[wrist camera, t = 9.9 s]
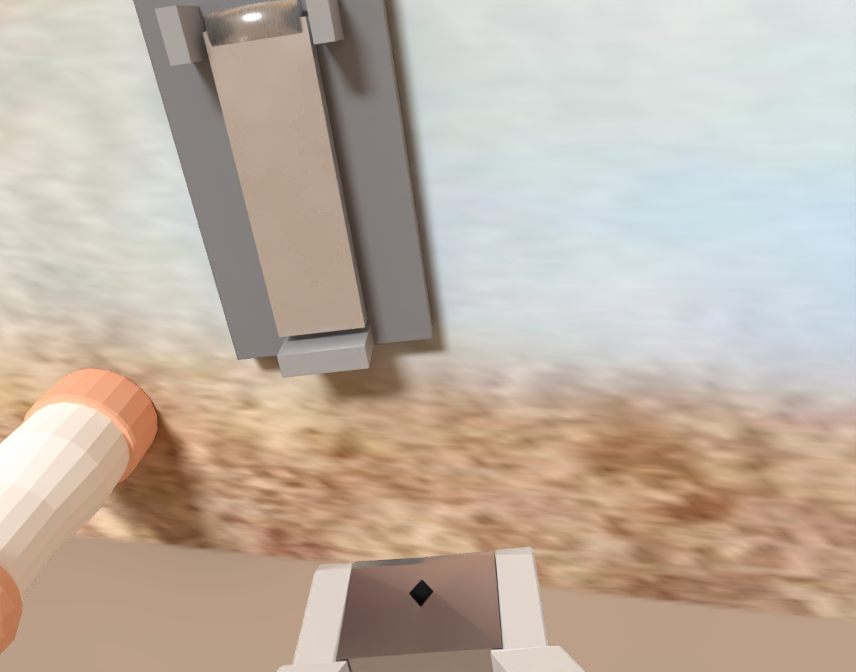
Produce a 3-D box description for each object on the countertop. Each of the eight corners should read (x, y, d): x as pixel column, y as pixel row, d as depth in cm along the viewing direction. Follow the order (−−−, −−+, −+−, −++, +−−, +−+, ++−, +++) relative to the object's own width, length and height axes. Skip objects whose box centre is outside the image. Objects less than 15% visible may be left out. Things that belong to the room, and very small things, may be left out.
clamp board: (379, -39, 33) (368, -47, 29) (432, 324, 42) (430, 361, 37) (148, -2, 34) (103, -5, 30) (246, 345, 43) (222, 384, 38)
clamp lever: (307, -4, 32) (300, -6, 31) (368, 317, 39) (364, 329, 38) (207, 11, 33) (194, 11, 31) (284, 326, 40) (277, 339, 38)
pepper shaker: (145, 367, 44) (-52, 596, 27) (168, 458, 47) (5, 717, 30) (36, 369, 44) (-229, 597, 27) (66, 459, 47) (-154, 716, 30)
